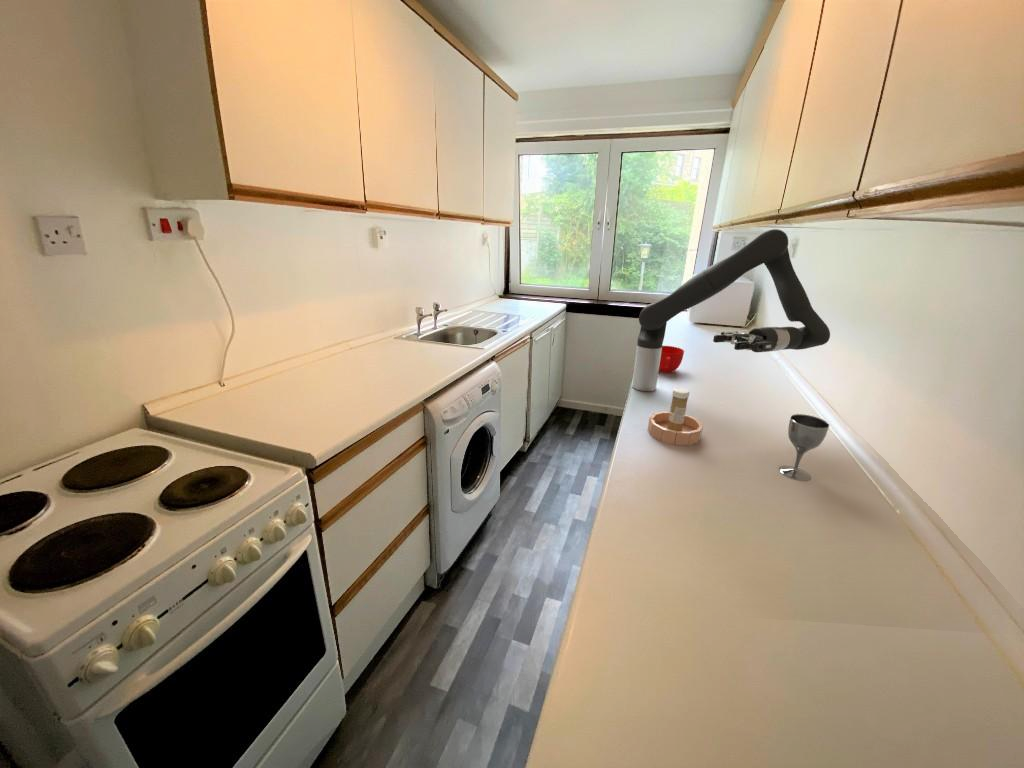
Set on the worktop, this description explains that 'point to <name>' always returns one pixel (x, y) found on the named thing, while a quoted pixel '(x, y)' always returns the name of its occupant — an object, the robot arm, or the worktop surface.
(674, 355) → the ceramic cup
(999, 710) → the worktop surface
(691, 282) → the robot arm
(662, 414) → the terracotta bowl
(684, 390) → the sprinkles bottle
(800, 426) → the wine glass
